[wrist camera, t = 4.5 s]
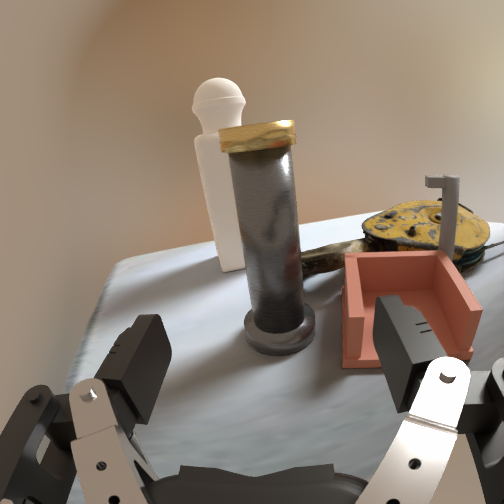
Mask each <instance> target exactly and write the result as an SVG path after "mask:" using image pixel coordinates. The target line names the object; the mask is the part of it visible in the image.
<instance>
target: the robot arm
mask: <svg viewBox="0 0 504 504" xmlns="http://www.w3.org/2000/svg"><path fill="white" fill-rule="evenodd" d="M373 343H374V347H375V350H376V353H377V355H378V358H379V361H380V363H381V366H382V369H383V372H384V375H385V377H386V380H387V383H388V386H389V389H390V392H391V395H392V398H393V401H394V404H395V407H396V410H397V413H402V412H406V411H408V412H409V414H408V415H407V416H406V418H405V419H404V421H403V423H402V425H401V427H400V429H399V431H398V433H397V435H396V437H395V439H394V441H393V443H392V444H391V446H390V448H389V450H388V452H387V453H386V455H385V457H384V459H383V460H382V462H381V464H380V466H379V467H378V469H377V471H376V472H375V474H374V475H373V477H372V479H371V480H370V482H367V481H366V480H363V479H361V478H358V477H355V476H352V475H348V474H342V473H334V466H333V464H326V465H317V466H307V467H294V468H291V469H287V470H283V471H280V472H276V473H272V474H268V475H263V476H259V477H249V476H245V475H241V474H236V473H232V472H229V471H225V470H221V469H217V468H206V467H193V466H182V465H181V466H180V471H179V475H173V476H168V477H165V478H162V479H159V477H158V476H157V475H156V473H155V472H154V470H153V468H152V466H151V464H150V462H149V460H148V458H147V456H146V454H145V452H144V450H143V448H142V446H141V444H140V441H139V439H138V437H137V435H136V433H135V431H134V430H133V429H134V426H135V424H136V423H137V424H145V425H147V424H148V421H149V418H150V416H151V413H152V410H153V407H154V405H155V402H156V399H157V396H158V394H159V391H160V388H161V385H162V383H163V380H164V377H165V375H166V372H167V369H168V367H169V364H170V361H171V357H172V350H171V345H170V342H169V339H168V337H167V334H166V331H165V328H164V325H163V322H162V319H161V317H160V316H159V315H158V314H149V315H139V316H138V317H137V319H136V320H135V322H134V324H133V325H132V327H128V328H127V329H126V330H125V331H124V332H123V333H121V334H120V335H119V336H118V338H117V340H116V341H115V343H114V344H113V345H114V346H112V348H111V349H110V351H109V354H107V356H106V358H105V359H104V361H103V363H102V364H101V366H100V368H99V370H98V371H97V373H96V375H95V376H94V378H90V379H85V380H83V381H81V382H79V383H78V384H76V385H75V386H74V387H73V388H72V390H71V392H70V394H62V395H54V394H53V393H52V391H51V390H50V389H49V387H48V386H46V385H37V386H34V387H33V388H31V389H29V390H28V391H27V392H26V393H25V395H24V396H23V397H22V399H21V401H20V402H19V404H18V405H17V407H16V409H15V411H14V412H13V414H12V416H11V417H10V419H9V421H8V423H7V424H6V426H5V428H4V430H3V431H2V433H1V435H0V504H66V502H67V499H68V496H69V493H70V490H71V487H72V485H73V482H74V479H75V476H76V473H78V477H79V481H80V484H81V487H82V491H83V494H84V497H85V500H86V503H87V504H429V503H430V501H431V499H432V496H433V495H434V492H435V490H436V488H437V486H438V483H439V481H440V479H441V477H442V474H443V472H444V469H445V467H446V464H447V462H448V459H449V457H450V454H451V451H452V449H453V446H454V443H455V440H456V437H457V434H466V437H467V440H468V443H469V446H470V449H471V452H472V455H473V458H474V462H475V465H476V468H477V472H478V475H479V479H480V482H481V486H482V490H483V494H484V498H485V502H486V504H504V358H501V359H499V360H497V361H496V362H495V363H494V365H493V367H492V369H491V371H469V370H468V368H467V367H466V365H465V364H464V363H463V362H461V361H459V360H457V359H455V358H450V357H448V355H447V354H446V352H445V350H444V349H443V347H442V345H441V344H440V342H439V340H438V339H437V337H436V335H435V334H434V332H433V331H432V329H431V327H430V326H429V324H427V321H426V319H425V318H424V316H423V315H422V313H421V312H420V311H418V310H417V309H415V308H414V307H412V306H404V304H403V302H402V301H401V299H400V298H399V296H398V295H397V294H393V295H386V296H378V297H377V298H376V302H375V312H374V322H373ZM44 435H46V436H47V437H48V438H49V439H50V440H51V441H50V443H49V445H48V448H47V450H46V452H45V454H44V457H43V459H42V461H41V464H39V463H38V461H37V459H36V452H37V450H38V447H39V445H40V443H41V441H42V439H43V437H44Z"/></svg>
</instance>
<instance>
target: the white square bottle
mask: <svg viewBox="0 0 504 504" xmlns="http://www.w3.org/2000/svg"><path fill="white" fill-rule="evenodd" d="M245 104H246V102H245V98H244V97H242V93H241V91H240V89H239V88H238V86H237V85H236V84H235V83H233V82H232V81H230V80H228V79H224V78H214V79H210V80H207V81H206V82H204V83H203V84H201V85H200V86H199V88H198V89H197V91H196V93H195V95H194V104H193V105H192V112H193V113H194V114H195V115H196V116H197V117H198V119H199V120H200V122H201V125H202V129H203V134H201V135H198V136H197V137H196V138H195V140H194V145H195V150H196V155H197V160H198V165H199V170H200V175H201V180H202V185H203V190H204V194H205V199H206V204H207V208H208V213H209V218H210V222H211V227H212V231H213V236H214V241H215V245H216V250H217V254H218V258H219V261H220V265H221V268H222V271H223V272H229V271H233V270H238V269H243V268H245V261H244V255H243V249H242V242H241V236H240V229H239V223H238V216H237V210H236V204H235V197H234V190H233V184H232V177H231V171H230V164H229V157H228V153H222V152H221V147H220V141H219V134H218V129H223V128H229V127H236V126H241V113H242V110H243V107H244V105H245Z"/></svg>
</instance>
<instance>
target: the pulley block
mask: <svg viewBox="0 0 504 504" xmlns="http://www.w3.org/2000/svg"><path fill="white" fill-rule="evenodd" d="M441 209H442V198H439V199H438V200H437V201H430V200H423V201H422V200H421V201H411V202H406V203H402V204H398V205H396V206H394V207H392V208H390V209H388V210H386V211H383V212H381V213H379V214H376V215H374V216H372V217H370V218H367V219H366V220H365V221H364V222H363V223H362V229H363V233H365V238H362V239H357V240H352V241H347V242H341V243H335V244H330V245H327V246H323V247H320V248H316V249H312V250H307V251H305V252H301V263H302V276H303V275H308V274H320V273H327V272H331V271H335V270H338V269H341V268H343V267H345V253H362V252H399V251H435V250H438V246H439V236H440V224H441ZM489 237H490V227H489V225H488V223H487V222H485V221H484V220H482V219H481V218H479V217H478V216H476V215H474V213H473V211H471V210H470V209H468V208H466V207H465V206H463V205H461V204H460V203H458V216H457V227H456V236H455V245H454V253H453V260H452V263H453V264H454V266H455V267H456V269H457V270H458V272H459V273H460V272H462V271H466V270H469V269H472V268H474V267H475V266H477V265H478V264H479V263H480V262H481V261H482V260H483V258H484V255H485V250H486V249H489V248H492V247H495V246H497V245H500V244H503V243H504V241H503V242H499V243H496V244H491V245H489V246H484V244H485V243H486V241H487V240H488V239H489Z"/></svg>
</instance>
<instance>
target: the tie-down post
mask: <svg viewBox="0 0 504 504" xmlns="http://www.w3.org/2000/svg"><path fill="white" fill-rule="evenodd" d="M218 134H219V141H220V147H221V152H222V153H228V157H229V164H230V171H231V177H232V184H233V190H234V197H235V204H236V210H237V216H238V223H239V229H240V236H241V242H242V249H243V255H244V261H245V268H246V274H247V280H248V287H249V293H250V299H251V305H252V309H251V310H250V311H249V312H248V313H247V314H246V316H245V319H244V326H245V331H246V337H247V341H248V343H249V345H250V346H251V347H252V348H253V349H254V350H256V351H258V352H260V353H263V354H266V355H272V356H282V355H289V354H293V353H296V352H298V351H300V350H302V349H304V348H305V347H307V346H308V345H309V344H310V343H311V342H312V340H313V339H314V336H315V314H314V311H313V309H312V308H311V307H310V306H309V305H307V304H306V303H304V294H303V278H302V263H301V250H300V237H299V225H298V214H297V202H296V192H295V183H294V173H293V163H292V154H291V145H293V144H296V143H297V142H296V133H295V125H294V120H287V121H277V122H268V123H259V124H251V125H243V126H236V127H229V128H223V129H218Z"/></svg>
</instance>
